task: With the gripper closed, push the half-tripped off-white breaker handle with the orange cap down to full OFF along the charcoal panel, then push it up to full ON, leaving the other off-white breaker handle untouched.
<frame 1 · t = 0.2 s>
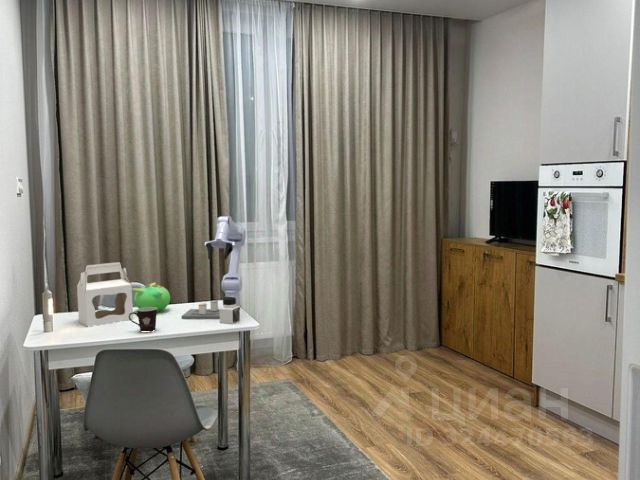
hand: (217, 258, 274), 30 cm above the table, tool tilted 45°, fingers open, 7 cm apart
gable box: (106, 321, 282), on the table
medicine bottle: (229, 322, 277), on the table
tripped breaker: (202, 308, 286), point 4 cm above the table, slide at 4.0 cm
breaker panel: (204, 315, 290), on the table
green teapot: (152, 312, 300), on the table
coffee mug: (145, 331, 262), on the table
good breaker: (214, 305, 293), point 4 cm above the table, slide at 8.0 cm
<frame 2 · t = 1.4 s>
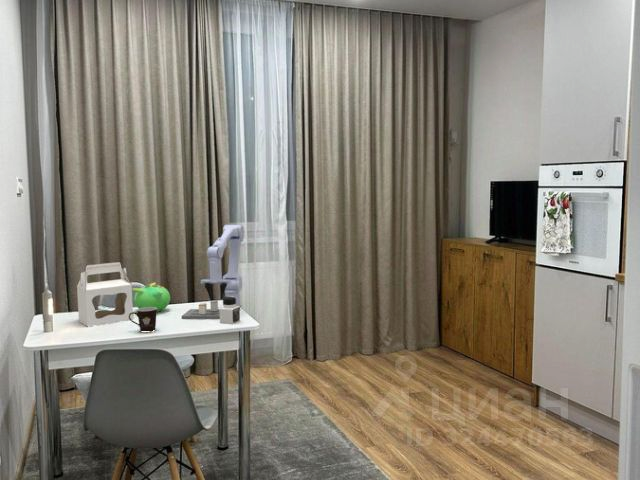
hand: (216, 298, 285), 9 cm above the table, tool pointing down, fingers open, 5 cm apart
nothing on the table moved.
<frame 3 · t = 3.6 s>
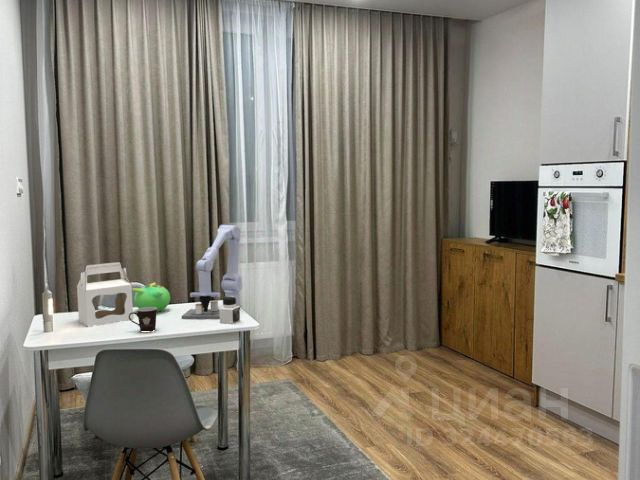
hand: (205, 311, 286), 3 cm above the table, tool pointing down, fingers closed
tripped breaker: (199, 308, 286), point 4 cm above the table, slide at 2.3 cm, touching gripper
everything else where it was.
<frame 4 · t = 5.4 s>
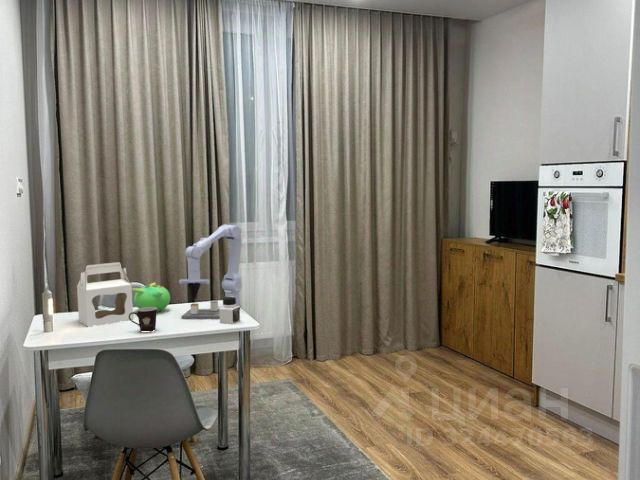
hand: (194, 298, 286), 9 cm above the table, tool pointing down, fingers closed
tripped breaker: (194, 308, 287), point 4 cm above the table, slide at -0.1 cm
everything else where it was.
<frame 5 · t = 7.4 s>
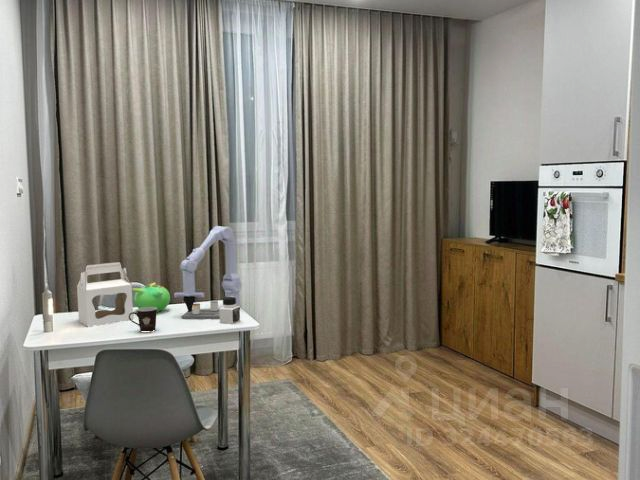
hand: (190, 311, 287), 3 cm above the table, tool pointing down, fingers closed
tripped breaker: (196, 308, 287), point 4 cm above the table, slide at 0.8 cm, touching gripper
everything else where it was.
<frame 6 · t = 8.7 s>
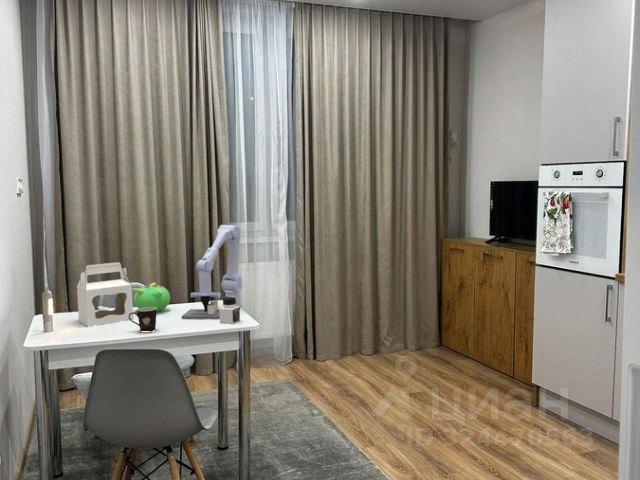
hand: (206, 311, 286), 3 cm above the table, tool pointing down, fingers closed
tripped breaker: (211, 308, 286), point 4 cm above the table, slide at 8.4 cm, touching gripper
everything else where it was.
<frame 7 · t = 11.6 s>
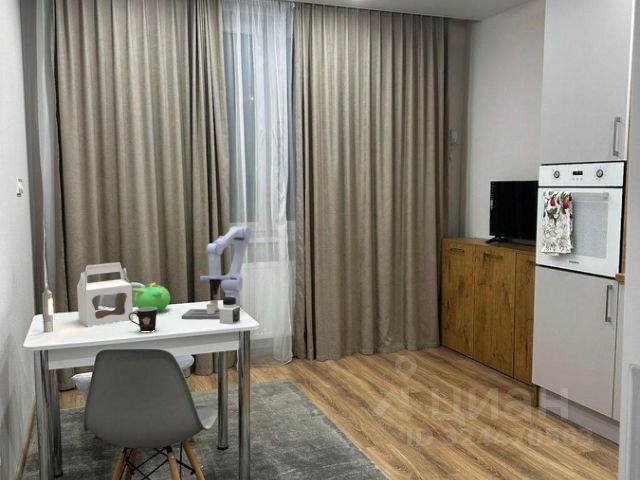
hand: (215, 294, 290), 10 cm above the table, tool pointing down, fingers closed
tripped breaker: (210, 308, 286), point 4 cm above the table, slide at 8.1 cm
everything else where it was.
at the end: tripped breaker slide at 8.1 cm; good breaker slide at 8.0 cm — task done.
